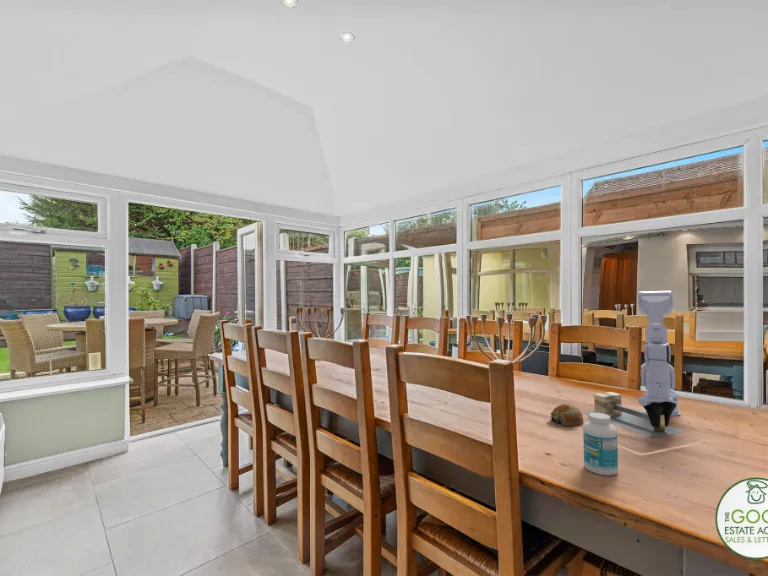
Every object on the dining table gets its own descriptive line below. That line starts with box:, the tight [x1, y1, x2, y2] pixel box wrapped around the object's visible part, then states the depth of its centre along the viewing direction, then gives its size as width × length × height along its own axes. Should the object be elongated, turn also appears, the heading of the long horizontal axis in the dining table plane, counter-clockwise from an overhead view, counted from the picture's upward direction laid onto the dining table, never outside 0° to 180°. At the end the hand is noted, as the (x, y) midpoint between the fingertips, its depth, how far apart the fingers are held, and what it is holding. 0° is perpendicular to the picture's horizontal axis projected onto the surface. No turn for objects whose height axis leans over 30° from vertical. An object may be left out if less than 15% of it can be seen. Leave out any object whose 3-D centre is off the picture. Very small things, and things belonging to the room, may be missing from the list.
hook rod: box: [614, 404, 665, 432], centre depth 124 cm, size 3×16×5 cm, turn 18°
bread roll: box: [550, 403, 585, 428], centre depth 129 cm, size 10×10×8 cm
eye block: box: [593, 391, 623, 416], centre depth 135 cm, size 8×4×7 cm, turn 109°
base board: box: [581, 409, 686, 439], centre depth 127 cm, size 14×26×1 cm, turn 19°
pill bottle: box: [582, 413, 619, 476], centre depth 95 cm, size 8×7×14 cm
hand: (659, 426), depth 118 cm, fingers closed on hook rod, 3 cm apart
